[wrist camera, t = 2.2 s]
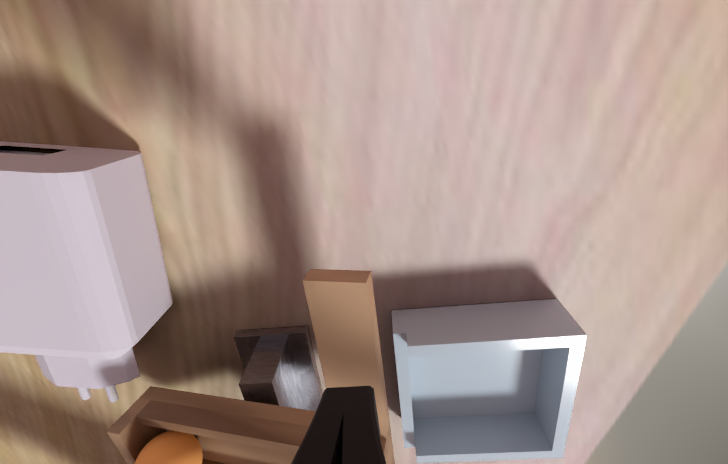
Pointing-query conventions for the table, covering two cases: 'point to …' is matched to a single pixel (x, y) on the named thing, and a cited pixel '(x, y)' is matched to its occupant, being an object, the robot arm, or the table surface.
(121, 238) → the charger
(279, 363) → the fulcrum
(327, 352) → the lever
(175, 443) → the ball
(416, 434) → the dish
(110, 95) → the table surface
